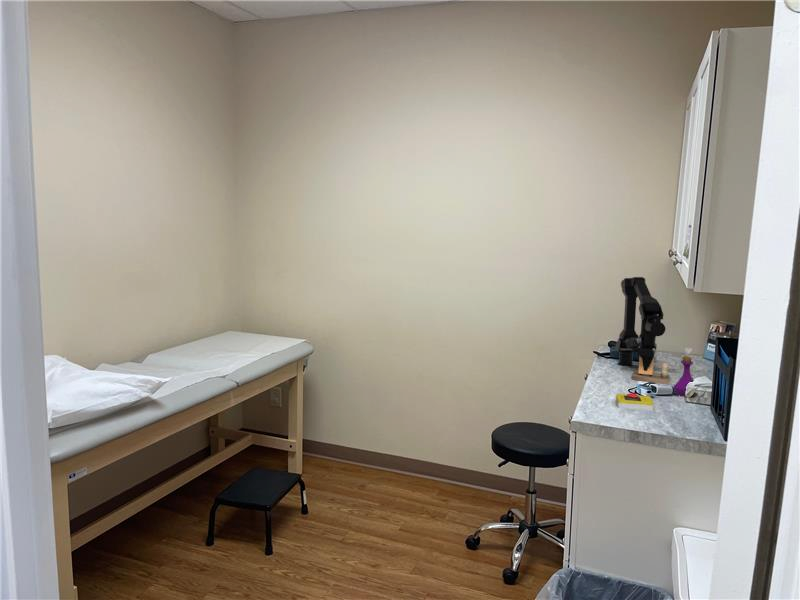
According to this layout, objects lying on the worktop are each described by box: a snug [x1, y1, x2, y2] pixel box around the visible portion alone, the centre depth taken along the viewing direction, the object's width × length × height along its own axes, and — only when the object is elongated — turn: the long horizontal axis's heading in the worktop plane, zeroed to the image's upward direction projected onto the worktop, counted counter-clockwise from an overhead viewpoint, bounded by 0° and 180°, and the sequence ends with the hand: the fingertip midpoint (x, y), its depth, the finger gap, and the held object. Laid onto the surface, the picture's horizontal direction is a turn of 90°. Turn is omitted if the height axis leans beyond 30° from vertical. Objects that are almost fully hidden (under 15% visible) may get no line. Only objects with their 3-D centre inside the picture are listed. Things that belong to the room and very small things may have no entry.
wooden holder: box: [630, 361, 671, 385], centre depth 235 cm, size 10×14×8 cm
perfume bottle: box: [672, 347, 695, 397], centre depth 211 cm, size 8×8×18 cm
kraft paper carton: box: [637, 355, 655, 375], centre depth 236 cm, size 5×5×8 cm
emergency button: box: [611, 393, 661, 413], centre depth 199 cm, size 9×4×15 cm
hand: (645, 369), depth 236 cm, fingers closed on kraft paper carton, 5 cm apart
